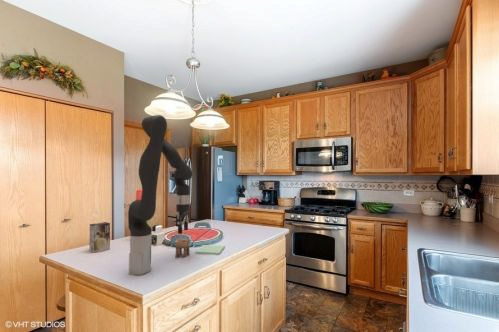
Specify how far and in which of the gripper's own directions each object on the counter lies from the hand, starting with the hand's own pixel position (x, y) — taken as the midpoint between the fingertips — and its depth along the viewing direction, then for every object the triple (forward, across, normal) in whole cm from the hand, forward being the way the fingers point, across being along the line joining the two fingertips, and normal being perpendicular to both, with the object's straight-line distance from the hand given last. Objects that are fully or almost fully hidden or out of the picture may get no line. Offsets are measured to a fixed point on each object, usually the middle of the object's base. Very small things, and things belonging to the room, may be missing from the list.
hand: (183, 231), depth 141 cm
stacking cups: (+14, +28, +41) cm, 51 cm away
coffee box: (+13, +3, +53) cm, 55 cm away
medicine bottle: (+14, +21, +26) cm, 36 cm away
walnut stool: (+13, 0, 0) cm, 13 cm away
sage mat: (+14, +11, -13) cm, 21 cm away
